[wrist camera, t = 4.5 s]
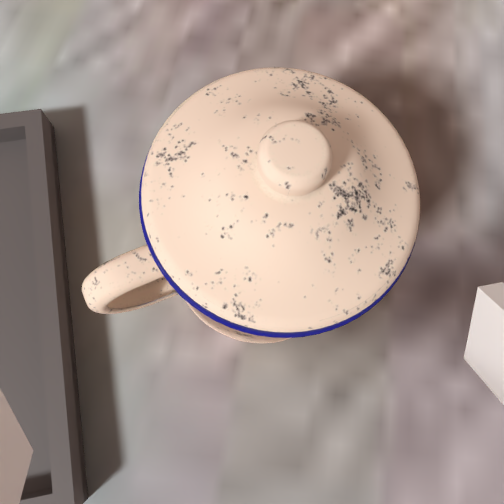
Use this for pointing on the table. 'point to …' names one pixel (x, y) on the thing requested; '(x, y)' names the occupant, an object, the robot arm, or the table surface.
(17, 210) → the tea tray
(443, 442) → the table surface
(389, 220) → the teacup with lid
